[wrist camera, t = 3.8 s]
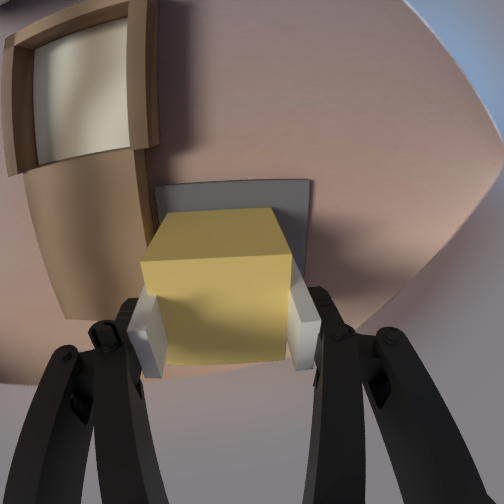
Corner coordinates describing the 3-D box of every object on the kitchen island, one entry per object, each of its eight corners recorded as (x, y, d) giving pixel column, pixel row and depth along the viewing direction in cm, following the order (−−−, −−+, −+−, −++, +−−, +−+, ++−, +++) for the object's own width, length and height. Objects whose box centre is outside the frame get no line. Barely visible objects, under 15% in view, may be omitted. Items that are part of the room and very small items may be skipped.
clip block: (180, 298, 19) (167, 364, 14) (167, 212, 16) (139, 261, 11) (270, 294, 19) (284, 359, 14) (271, 207, 17) (291, 254, 11)
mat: (175, 309, 20) (175, 312, 20) (156, 185, 16) (154, 187, 16) (300, 303, 21) (301, 306, 20) (307, 178, 17) (309, 180, 16)
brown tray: (66, 303, 19) (53, 322, 17) (26, 42, 10) (5, 38, 8) (181, 303, 20) (176, 326, 18) (159, -2, 11) (148, -18, 9)
